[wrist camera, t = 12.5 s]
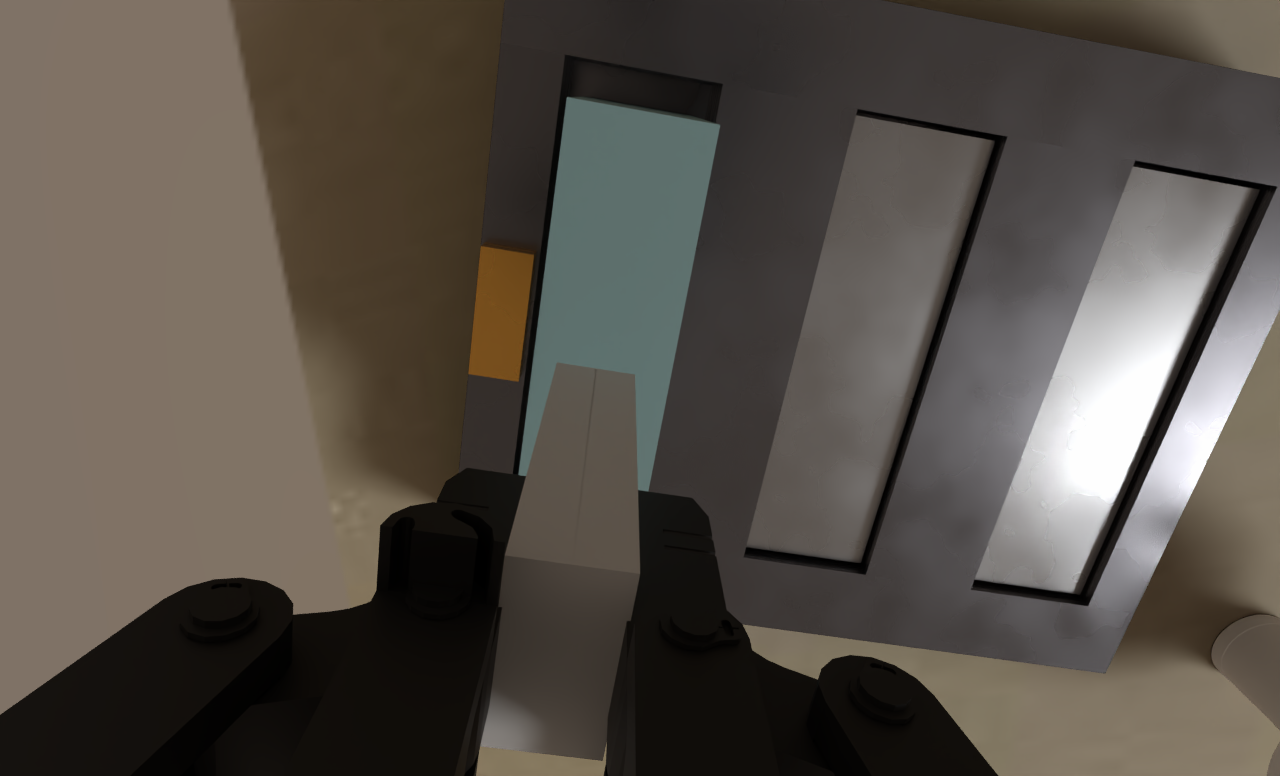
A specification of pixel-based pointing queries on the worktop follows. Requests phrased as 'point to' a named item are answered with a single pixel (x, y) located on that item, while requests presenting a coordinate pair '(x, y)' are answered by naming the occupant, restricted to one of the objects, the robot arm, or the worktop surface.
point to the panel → (620, 254)
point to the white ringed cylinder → (1254, 666)
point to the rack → (913, 303)
